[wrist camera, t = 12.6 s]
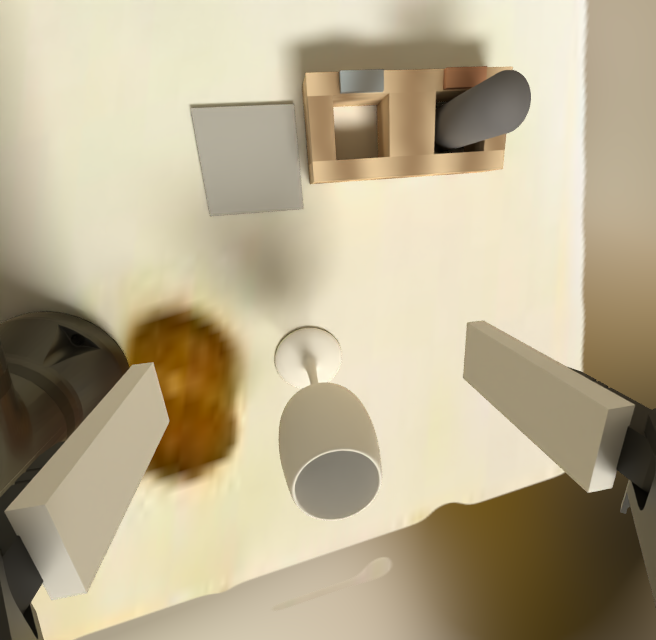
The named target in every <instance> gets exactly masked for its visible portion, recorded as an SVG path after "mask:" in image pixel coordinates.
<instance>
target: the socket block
mask: <svg viewBox="0 0 656 640" xmlns="http://www.w3.org/2000/svg"><path fill="white" fill-rule="evenodd" d="M512 69H513V67H487V66H482V67H447V68H446V69H415V70H384V69H377V70H342V71H340V72H312V73H305V78H304V82H303V86H302V92H303V104H304V116H305V128H306V140H307V153H308V165H309V177H310V184H318V183H333V182H347V181H362V180H376V179H391V178H405V177H420V176H434V175H449V174H463V173H478V172H486V171H492V170H499V169H503V162H504V151H505V141H506V134H503V135H499V136H496V137H493V138H489V139H486V140H483V141H479V142H476V143H473V144H469V145H466V146H464V152H462V153H446V154H434V137H435V106H436V103H437V102H448V101H450V100H452V99H453V98H455V97H457V96H459V95H460V94H462V93H464V92H466V91H467V90H469V89H471V88H472V87H474V86H476V85H478V84H479V83H481V82H483V81H484V80H486V79H488V78H490V77H491V76H493V75H495V74H497V73H498V72H501V71H504V70H512ZM365 105H377V131H378V158H364V159H347V160H336V149H335V131H334V113H333V107H341V106H365Z"/></svg>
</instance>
